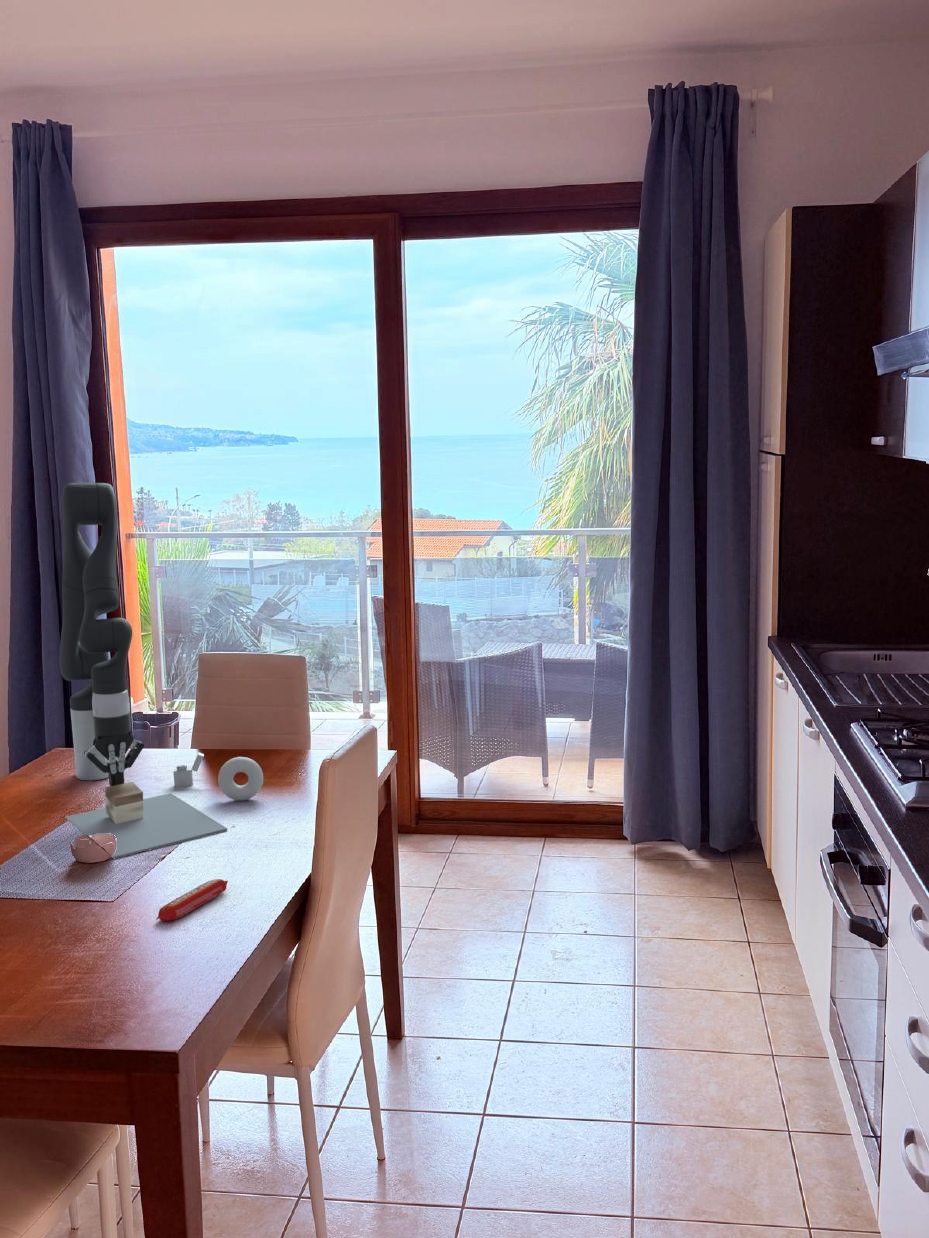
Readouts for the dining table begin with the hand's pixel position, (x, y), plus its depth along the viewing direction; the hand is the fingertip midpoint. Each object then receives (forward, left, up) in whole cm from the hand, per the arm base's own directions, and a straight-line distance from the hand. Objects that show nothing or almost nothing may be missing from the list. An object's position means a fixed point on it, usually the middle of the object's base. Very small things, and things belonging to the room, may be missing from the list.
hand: (117, 788), depth 238 cm
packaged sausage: (+55, -7, -7) cm, 56 cm away
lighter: (-9, +20, -6) cm, 23 cm away
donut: (+8, +25, -6) cm, 27 cm away
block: (+3, 0, -5) cm, 6 cm away
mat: (+9, +2, -6) cm, 11 cm away
